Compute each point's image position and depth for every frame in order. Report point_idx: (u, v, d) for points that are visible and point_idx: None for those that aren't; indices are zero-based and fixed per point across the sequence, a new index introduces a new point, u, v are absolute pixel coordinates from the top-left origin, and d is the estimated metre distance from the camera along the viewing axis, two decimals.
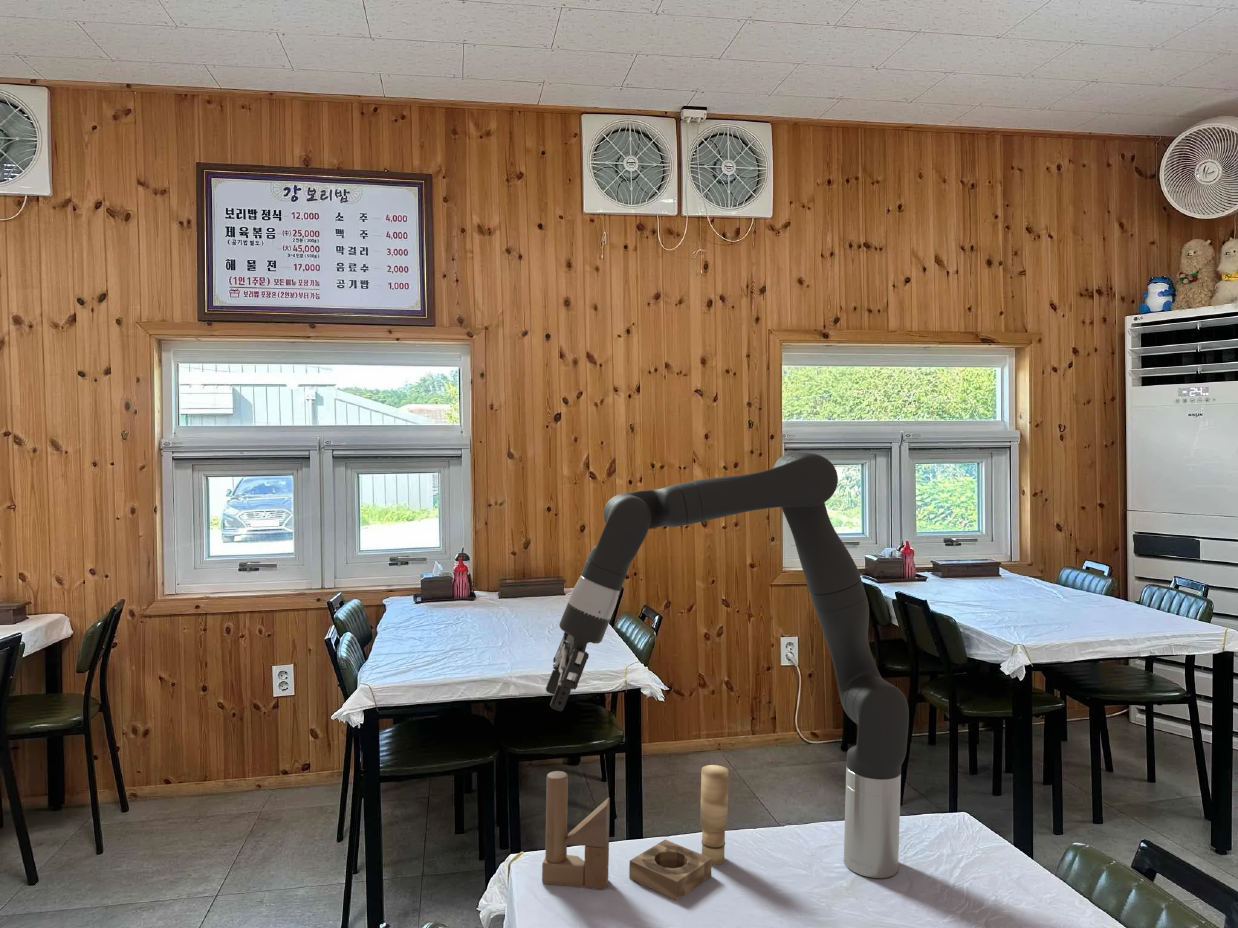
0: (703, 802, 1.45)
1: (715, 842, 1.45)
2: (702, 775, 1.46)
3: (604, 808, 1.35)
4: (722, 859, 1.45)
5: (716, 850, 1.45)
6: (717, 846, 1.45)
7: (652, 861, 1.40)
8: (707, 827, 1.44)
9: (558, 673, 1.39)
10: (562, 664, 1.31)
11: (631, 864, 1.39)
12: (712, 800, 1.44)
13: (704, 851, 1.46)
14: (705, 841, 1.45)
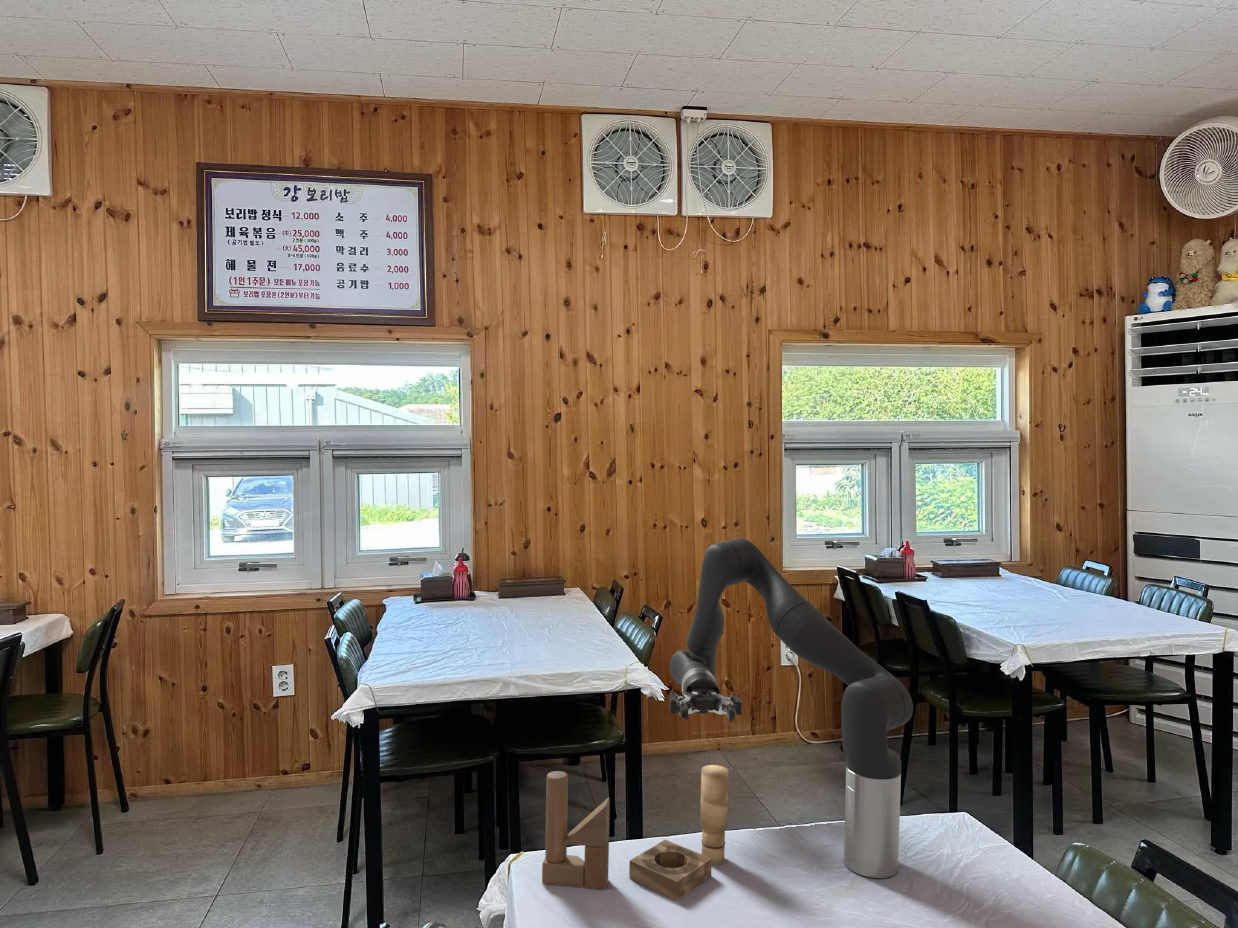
0: (703, 802, 1.45)
1: (715, 842, 1.45)
2: (702, 775, 1.46)
3: (604, 808, 1.35)
4: (722, 859, 1.45)
5: (716, 850, 1.45)
6: (717, 846, 1.45)
7: (652, 861, 1.40)
8: (707, 827, 1.44)
9: None
10: None
11: (631, 864, 1.39)
12: (712, 800, 1.44)
13: (704, 851, 1.46)
14: (705, 841, 1.45)
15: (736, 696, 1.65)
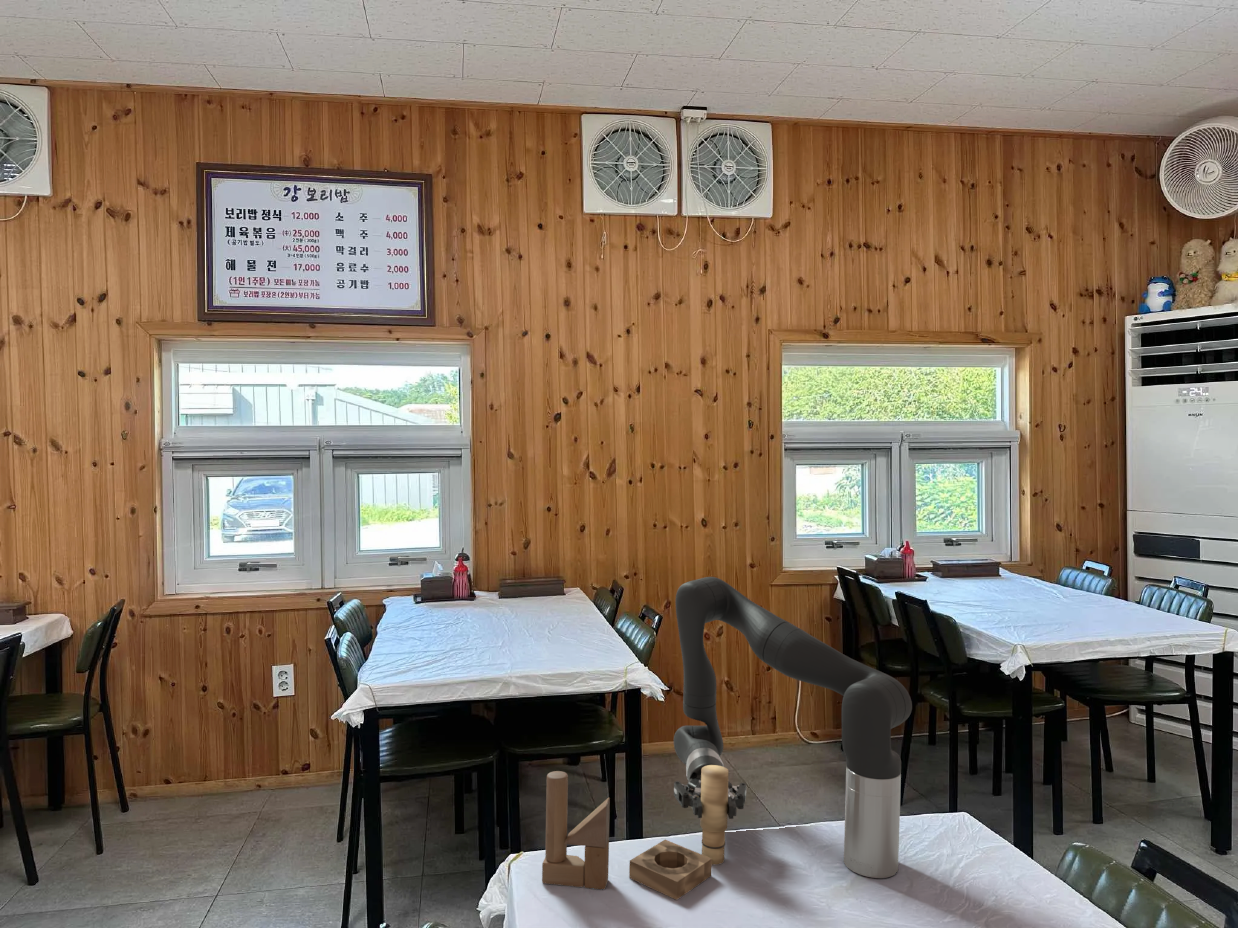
0: (703, 802, 1.45)
1: (715, 842, 1.45)
2: (702, 775, 1.46)
3: (604, 808, 1.35)
4: (722, 859, 1.45)
5: (716, 850, 1.45)
6: (717, 846, 1.45)
7: (652, 861, 1.40)
8: (707, 827, 1.44)
9: None
10: None
11: (631, 864, 1.39)
12: (712, 800, 1.44)
13: (704, 851, 1.46)
14: (705, 841, 1.45)
15: (742, 787, 1.52)
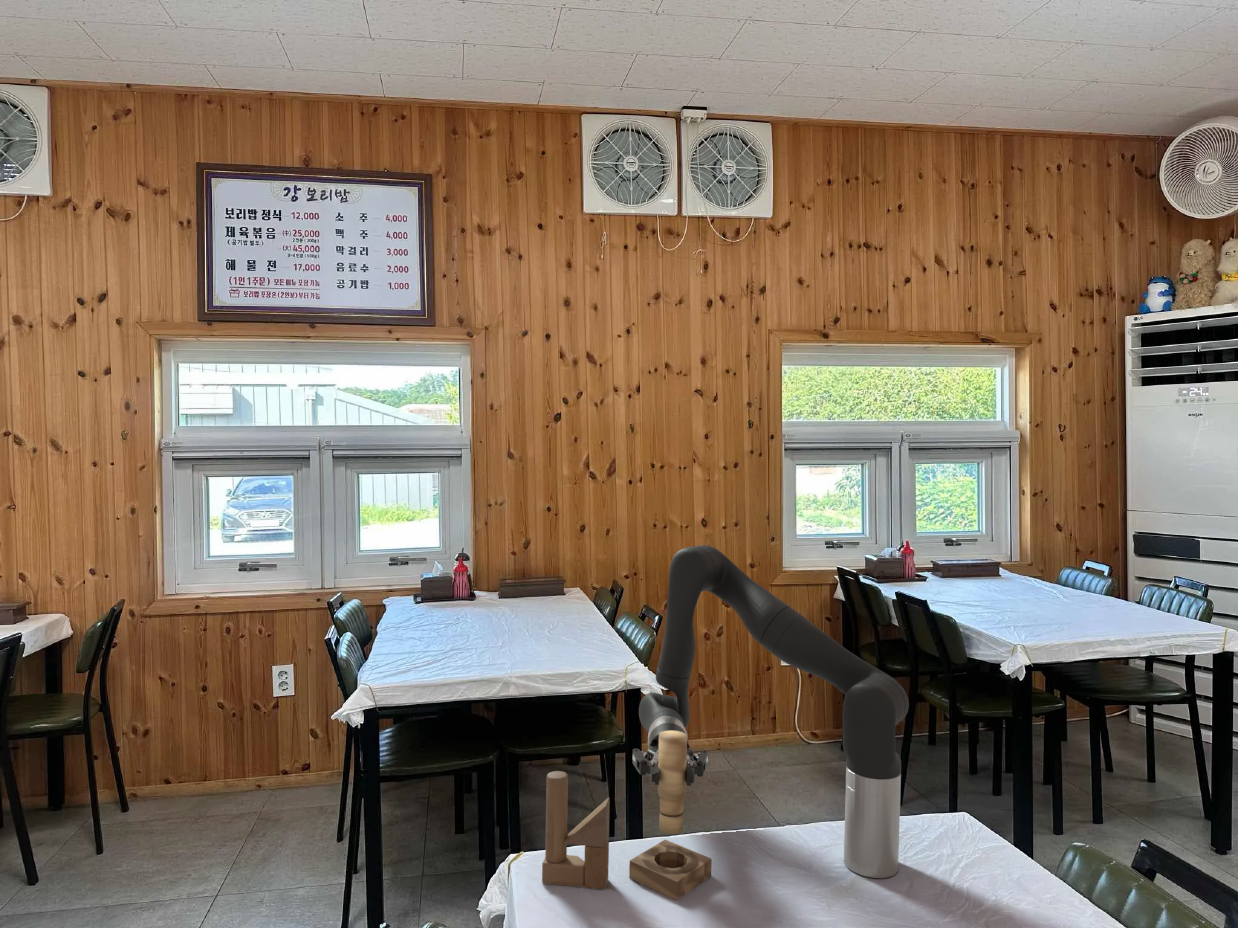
0: (660, 769, 1.39)
1: (672, 810, 1.38)
2: (659, 740, 1.39)
3: (604, 808, 1.35)
4: (680, 828, 1.39)
5: (673, 819, 1.38)
6: (675, 814, 1.38)
7: (652, 861, 1.40)
8: (664, 795, 1.38)
9: None
10: None
11: (631, 864, 1.39)
12: (669, 766, 1.38)
13: (661, 820, 1.39)
14: (662, 809, 1.39)
15: (703, 754, 1.45)
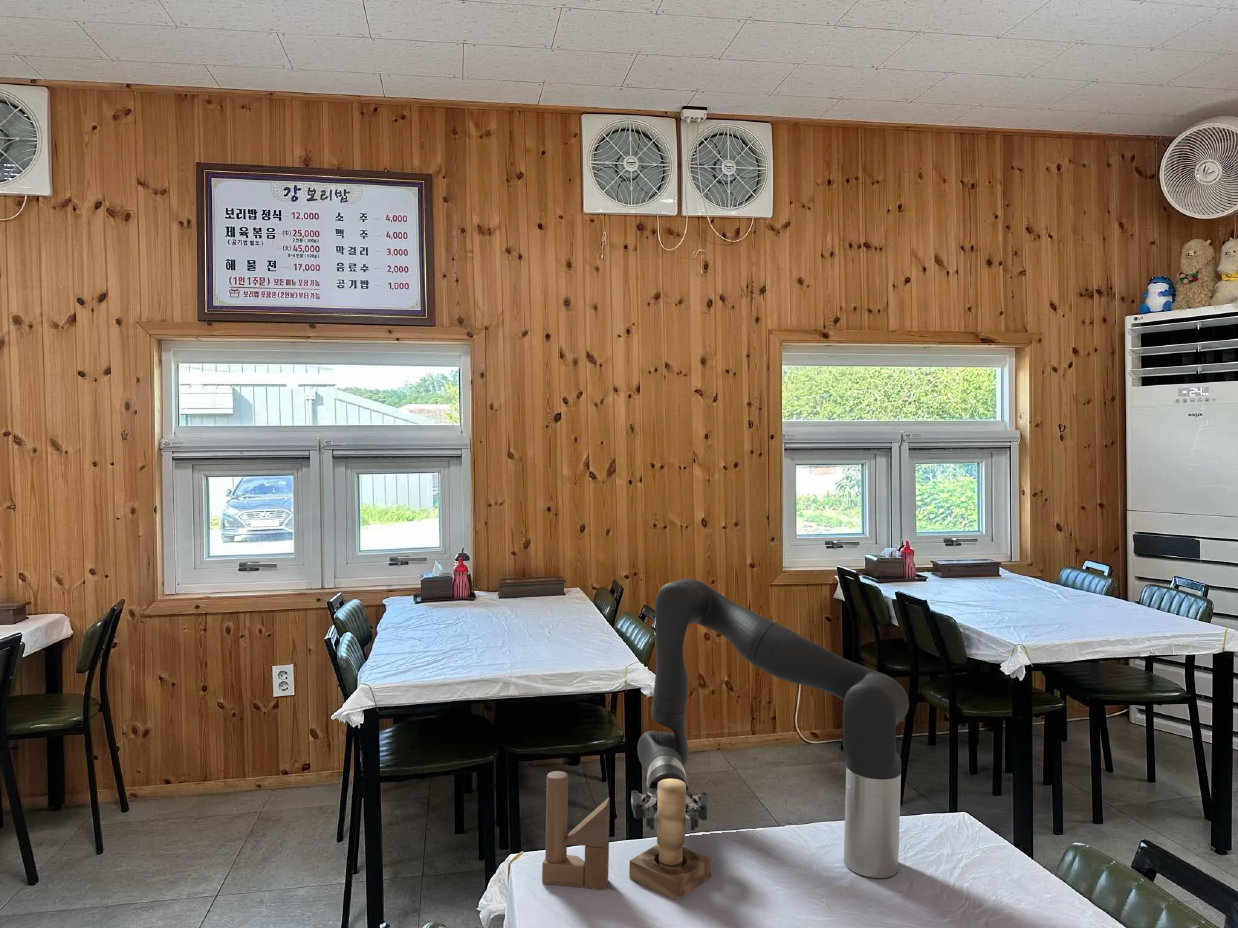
0: (659, 818, 1.39)
1: (671, 859, 1.38)
2: (658, 790, 1.39)
3: (604, 808, 1.35)
4: None
5: None
6: (674, 864, 1.38)
7: (652, 861, 1.40)
8: (664, 844, 1.38)
9: (689, 815, 1.41)
10: None
11: (631, 864, 1.39)
12: (668, 816, 1.38)
13: None
14: (662, 858, 1.39)
15: (704, 797, 1.46)
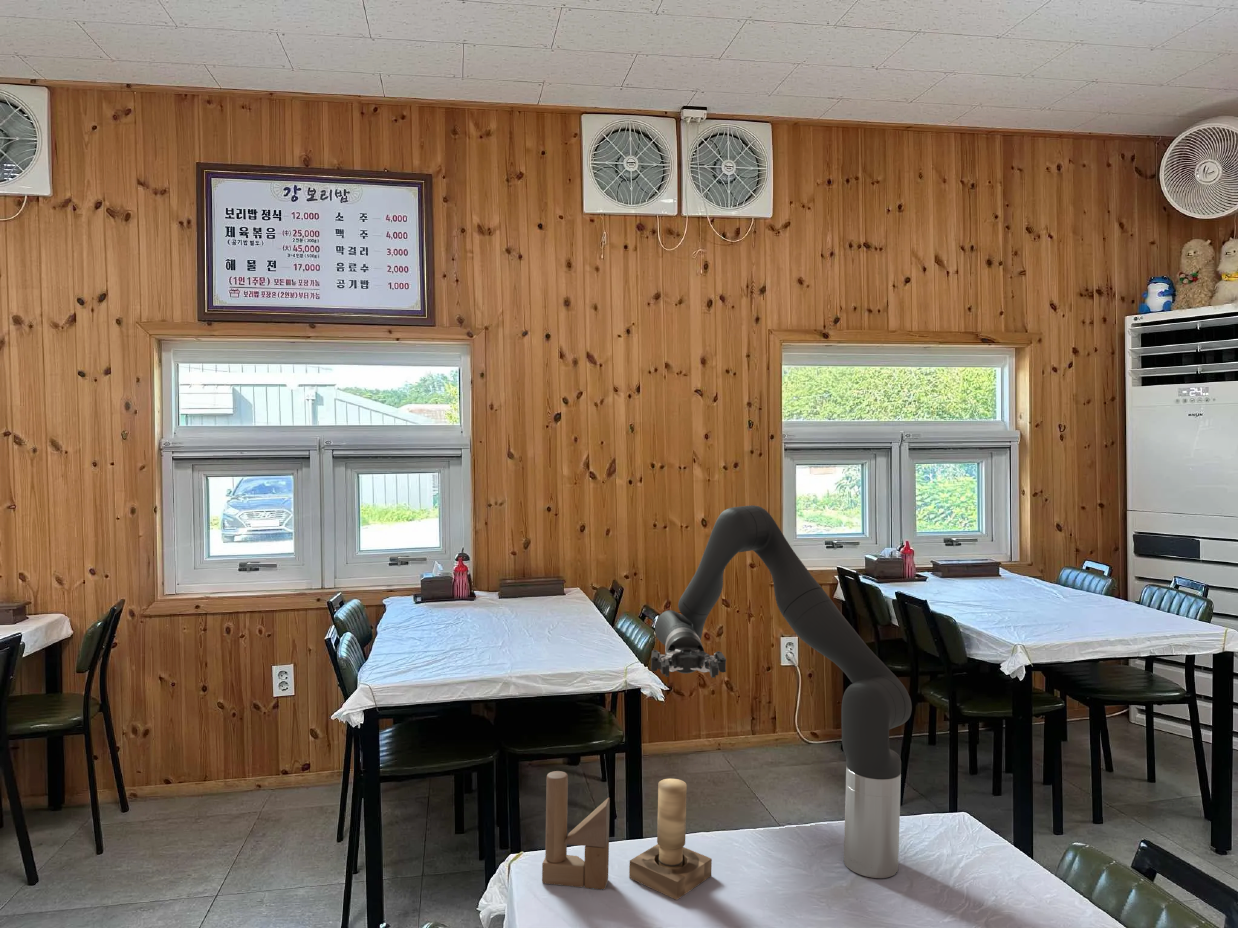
0: (660, 818, 1.39)
1: (672, 859, 1.38)
2: (659, 789, 1.39)
3: (604, 808, 1.35)
4: None
5: None
6: (674, 864, 1.38)
7: (652, 861, 1.40)
8: (664, 844, 1.38)
9: None
10: None
11: (631, 864, 1.39)
12: (669, 816, 1.38)
13: None
14: (662, 858, 1.39)
15: (720, 654, 1.59)
